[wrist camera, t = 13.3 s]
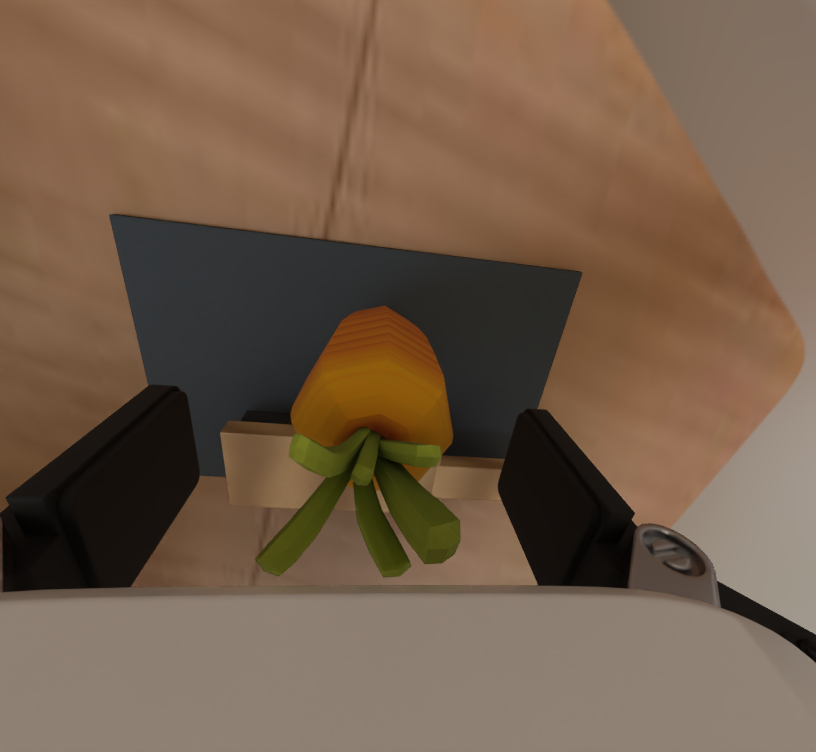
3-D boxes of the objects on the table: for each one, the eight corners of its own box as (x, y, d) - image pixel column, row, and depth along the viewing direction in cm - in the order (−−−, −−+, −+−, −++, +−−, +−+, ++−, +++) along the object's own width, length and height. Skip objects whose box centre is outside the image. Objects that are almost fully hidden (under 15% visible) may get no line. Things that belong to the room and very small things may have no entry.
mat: (171, 470, 24) (168, 474, 23) (114, 214, 17) (108, 214, 16) (508, 487, 26) (509, 490, 26) (579, 271, 19) (582, 272, 19)
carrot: (330, 354, 20) (222, 648, 7) (340, 267, 18) (213, 447, 5) (413, 367, 21) (464, 658, 8) (432, 285, 19) (549, 487, 5)
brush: (246, 473, 24) (229, 507, 21) (239, 404, 21) (219, 432, 19) (489, 485, 26) (501, 517, 23) (507, 423, 23) (523, 451, 21)
